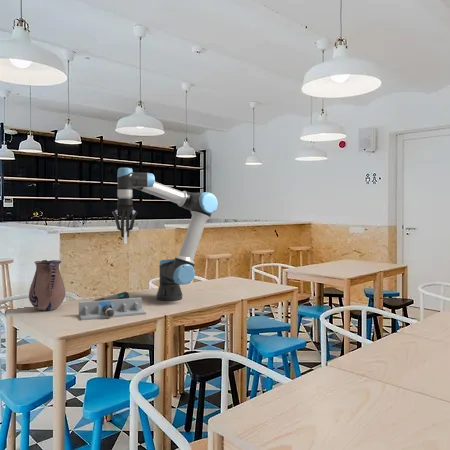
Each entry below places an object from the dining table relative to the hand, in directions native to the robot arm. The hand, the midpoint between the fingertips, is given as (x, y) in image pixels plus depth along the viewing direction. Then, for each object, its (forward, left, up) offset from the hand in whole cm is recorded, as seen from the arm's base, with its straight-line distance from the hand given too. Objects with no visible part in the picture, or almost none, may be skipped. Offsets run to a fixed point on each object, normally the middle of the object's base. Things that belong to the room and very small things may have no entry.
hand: (125, 243), depth 231 cm
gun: (+5, -10, -35) cm, 37 cm away
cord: (+11, +11, -33) cm, 37 cm away
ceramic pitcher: (+36, -15, -35) cm, 52 cm away
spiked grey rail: (+8, +9, -34) cm, 36 cm away
